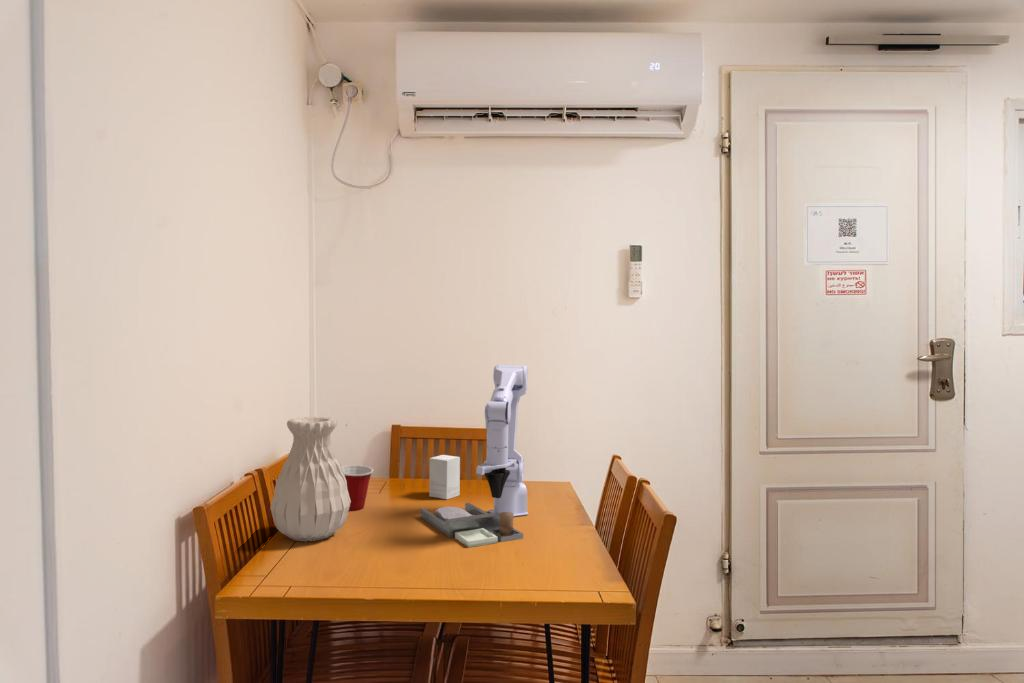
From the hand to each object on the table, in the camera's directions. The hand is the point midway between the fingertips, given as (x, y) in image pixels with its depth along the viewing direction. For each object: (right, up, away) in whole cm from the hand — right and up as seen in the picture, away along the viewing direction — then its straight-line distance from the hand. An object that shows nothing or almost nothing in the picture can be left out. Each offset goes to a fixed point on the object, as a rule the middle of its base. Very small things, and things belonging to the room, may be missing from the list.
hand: (496, 497), depth 175 cm
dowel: (+3, -10, -3) cm, 10 cm away
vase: (-48, -9, -4) cm, 49 cm away
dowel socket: (+3, -10, -3) cm, 10 cm away
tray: (-5, -10, -6) cm, 12 cm away
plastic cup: (-43, -9, +22) cm, 49 cm away
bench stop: (-10, -9, +8) cm, 16 cm away
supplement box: (-18, -9, +38) cm, 43 cm away
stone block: (-11, -10, +8) cm, 17 cm away
